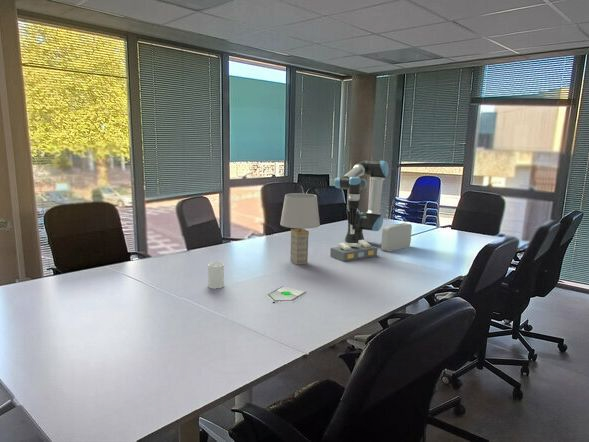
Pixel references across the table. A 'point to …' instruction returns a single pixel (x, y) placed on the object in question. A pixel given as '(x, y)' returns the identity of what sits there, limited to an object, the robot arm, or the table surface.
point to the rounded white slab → (396, 237)
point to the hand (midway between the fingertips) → (352, 233)
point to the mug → (215, 275)
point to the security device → (285, 294)
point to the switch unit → (353, 253)
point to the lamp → (300, 223)
